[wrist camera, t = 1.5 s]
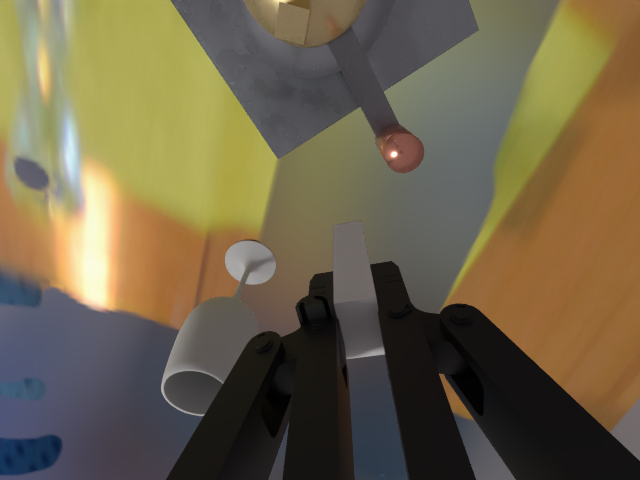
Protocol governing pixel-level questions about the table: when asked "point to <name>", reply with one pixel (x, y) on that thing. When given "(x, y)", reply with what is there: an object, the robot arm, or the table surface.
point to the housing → (318, 60)
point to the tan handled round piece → (342, 64)
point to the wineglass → (215, 334)
